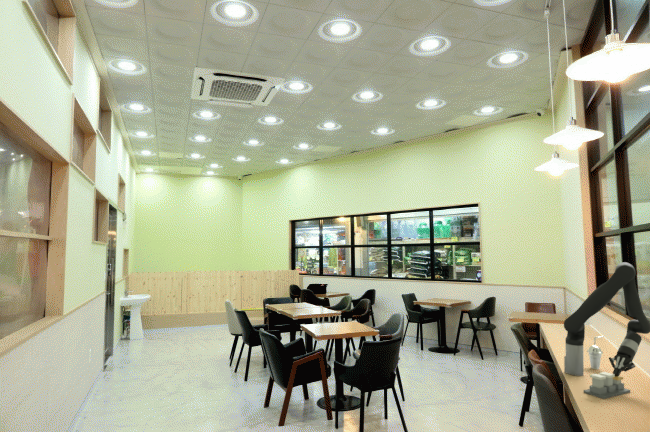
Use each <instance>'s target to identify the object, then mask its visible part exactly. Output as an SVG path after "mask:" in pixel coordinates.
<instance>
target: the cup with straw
mask: <svg viewBox="0 0 650 432" xmlns="http://www.w3.org/2000/svg"><path fill="white" fill-rule="evenodd" d="M604 337H605V336H604V335H602V336H601V335H600V336H595V337H593V342H594V344H593V345H590V346H589V347H588V349H587V350H586V352H588V356H589V364H590V365H589V366H590V368H591V369H593V370H600V367H601V360H602V359H601V358H602V355H603V354H604V353H603V350H602V349H601V347H599V346H597V344H596V340H597V339H598V338H604Z"/></svg>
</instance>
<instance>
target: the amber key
mask: <svg viewBox="0 0 650 432" xmlns="http://www.w3.org/2000/svg"><path fill="white" fill-rule="evenodd" d="M622 380H624V376H620V375H619V376H618V377H617V376H615V377H613V383H614V384H621V383H622Z"/></svg>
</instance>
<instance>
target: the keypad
mask: <svg viewBox="0 0 650 432" xmlns="http://www.w3.org/2000/svg"><path fill="white" fill-rule="evenodd" d="M583 392H584V394H586V395H588V396H589V395H590V396H593V397H596V398H598V399H599V398H600V399H602V400H606V399H609V398H613V397H617V396H622V395H626V394H630V393H631V389H627V388H625V383H624V382H621V384H614V383H613V386H606V385H604V388H596V387H593V386H592V384H590V385H589V388H587V389H583Z"/></svg>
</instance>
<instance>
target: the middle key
mask: <svg viewBox="0 0 650 432" xmlns="http://www.w3.org/2000/svg"><path fill="white" fill-rule="evenodd" d="M598 374H599V375H602V376H606V379H604V385H606V386H613V377H615V374H613V373H610V372H608V371H607V372H606V371H602V372H599V373H598Z"/></svg>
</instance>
